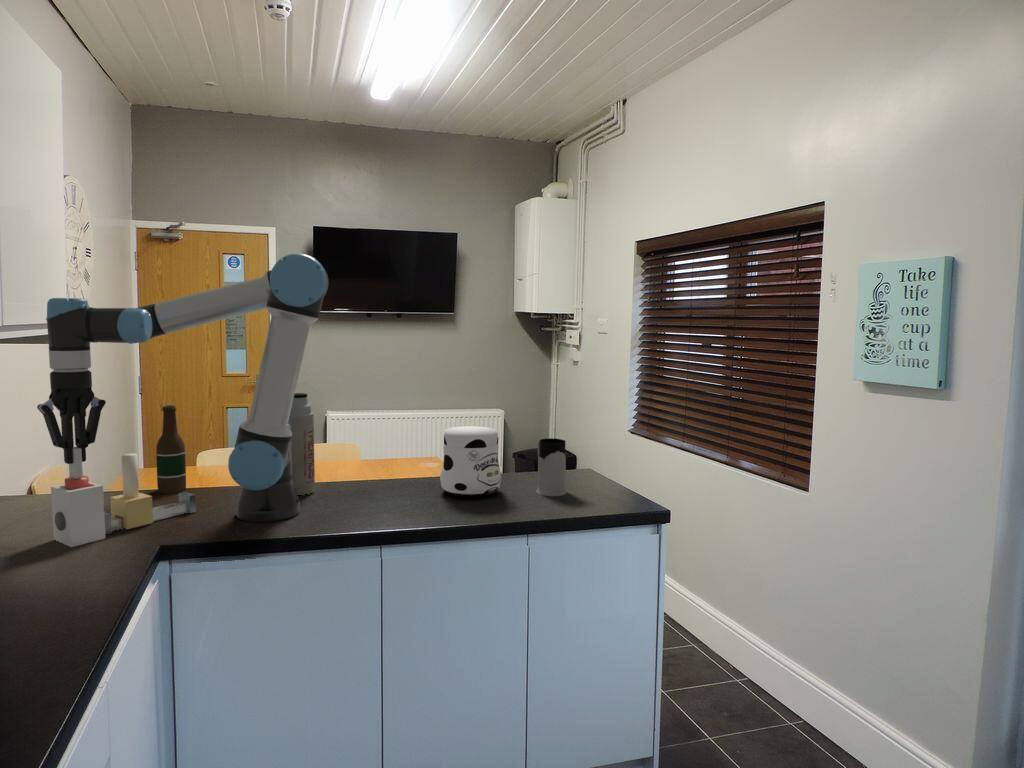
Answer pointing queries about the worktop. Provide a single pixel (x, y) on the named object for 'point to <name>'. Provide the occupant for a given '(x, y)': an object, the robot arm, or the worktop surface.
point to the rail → (157, 511)
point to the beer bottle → (170, 456)
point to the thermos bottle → (302, 445)
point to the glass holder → (551, 467)
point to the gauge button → (76, 483)
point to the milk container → (470, 461)
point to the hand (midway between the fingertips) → (76, 477)
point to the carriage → (132, 497)
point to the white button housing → (78, 514)
